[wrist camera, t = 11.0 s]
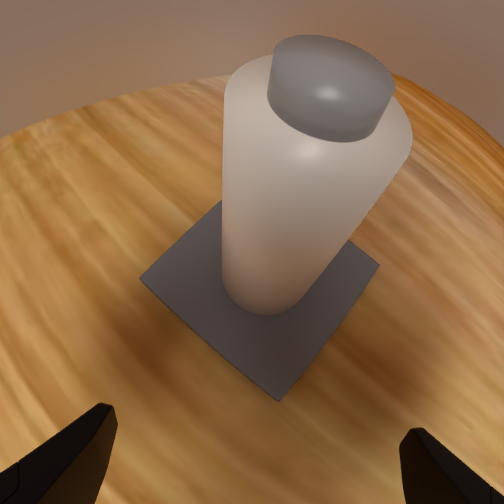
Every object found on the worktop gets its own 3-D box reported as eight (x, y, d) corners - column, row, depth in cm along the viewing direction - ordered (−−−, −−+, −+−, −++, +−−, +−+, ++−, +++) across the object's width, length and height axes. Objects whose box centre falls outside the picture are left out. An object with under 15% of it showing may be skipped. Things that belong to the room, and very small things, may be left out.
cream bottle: (323, 291, 18) (466, 121, 6) (246, 330, 16) (309, 169, 5) (281, 222, 19) (347, 17, 7) (207, 254, 18) (193, 31, 6)
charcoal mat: (375, 268, 19) (379, 264, 19) (277, 401, 16) (279, 401, 15) (253, 176, 21) (254, 170, 21) (141, 281, 18) (139, 277, 17)
